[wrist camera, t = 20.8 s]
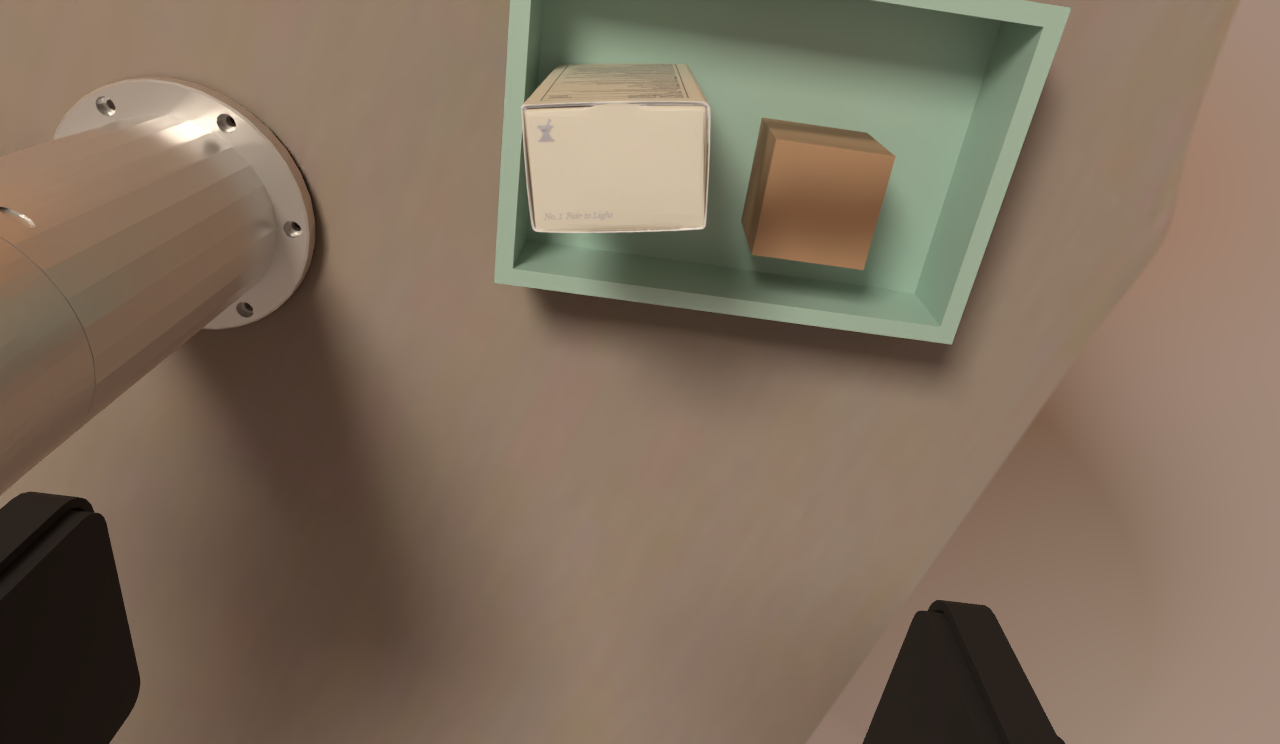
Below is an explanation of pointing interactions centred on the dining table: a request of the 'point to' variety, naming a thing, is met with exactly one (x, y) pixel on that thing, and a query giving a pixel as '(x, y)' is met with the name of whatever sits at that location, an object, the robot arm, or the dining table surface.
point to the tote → (811, 94)
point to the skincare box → (617, 149)
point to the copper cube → (815, 193)
